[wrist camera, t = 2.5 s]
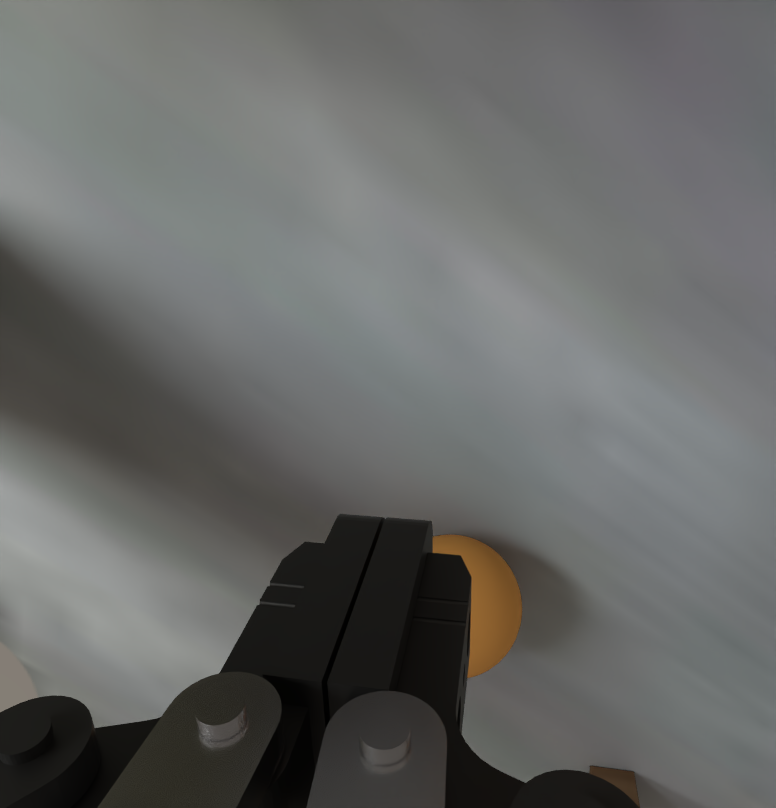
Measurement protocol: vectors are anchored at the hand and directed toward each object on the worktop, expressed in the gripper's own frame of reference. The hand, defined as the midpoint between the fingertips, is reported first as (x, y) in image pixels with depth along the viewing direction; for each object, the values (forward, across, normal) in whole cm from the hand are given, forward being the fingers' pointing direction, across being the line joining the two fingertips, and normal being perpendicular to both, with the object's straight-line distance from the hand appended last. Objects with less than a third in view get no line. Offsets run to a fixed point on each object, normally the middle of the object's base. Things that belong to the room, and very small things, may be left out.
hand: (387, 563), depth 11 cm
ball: (+13, 0, +11) cm, 17 cm away
